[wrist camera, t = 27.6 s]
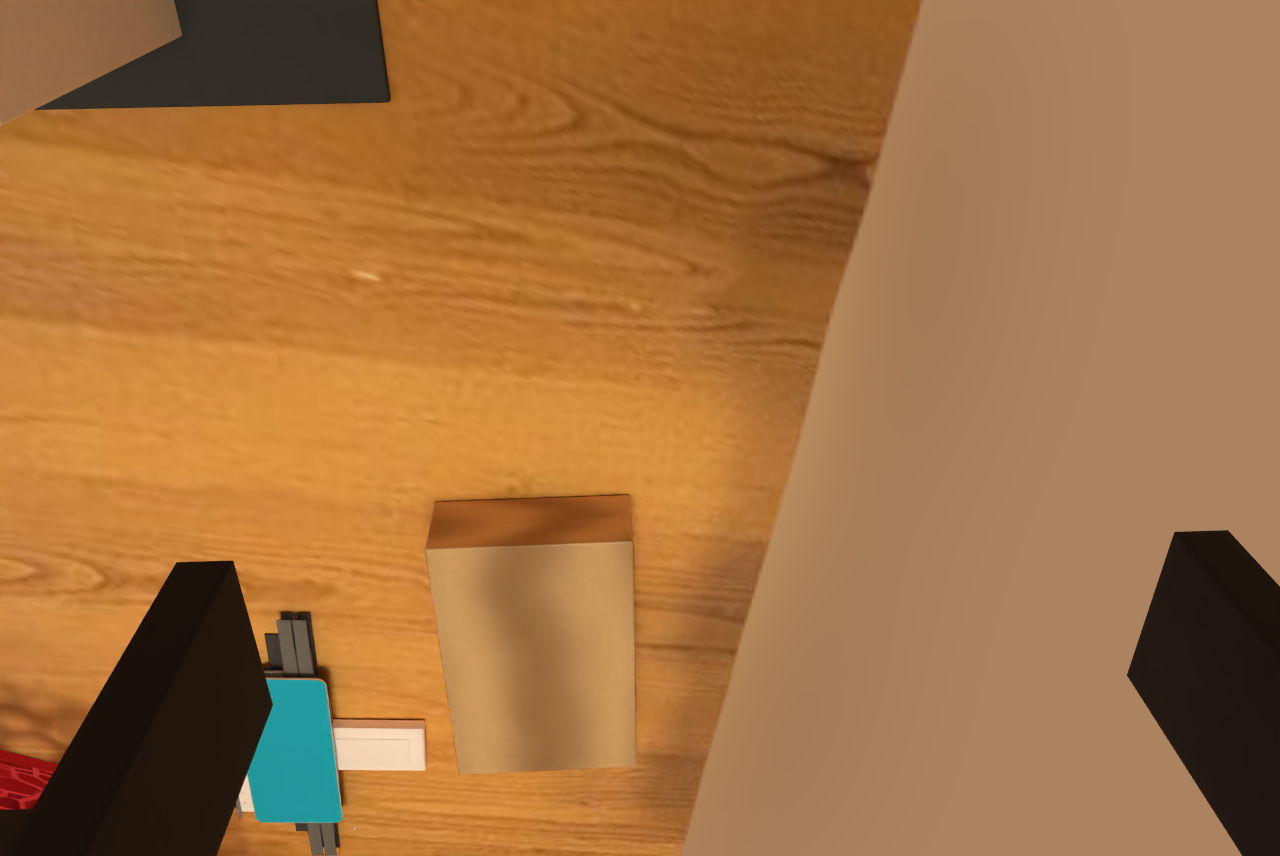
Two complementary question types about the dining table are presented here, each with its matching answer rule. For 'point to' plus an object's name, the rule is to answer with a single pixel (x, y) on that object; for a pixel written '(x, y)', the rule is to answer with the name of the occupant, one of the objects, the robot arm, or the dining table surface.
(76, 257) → the dining table surface
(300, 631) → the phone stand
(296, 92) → the mat
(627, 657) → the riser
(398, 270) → the dining table surface
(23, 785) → the bowl
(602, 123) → the dining table surface
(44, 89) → the packet
